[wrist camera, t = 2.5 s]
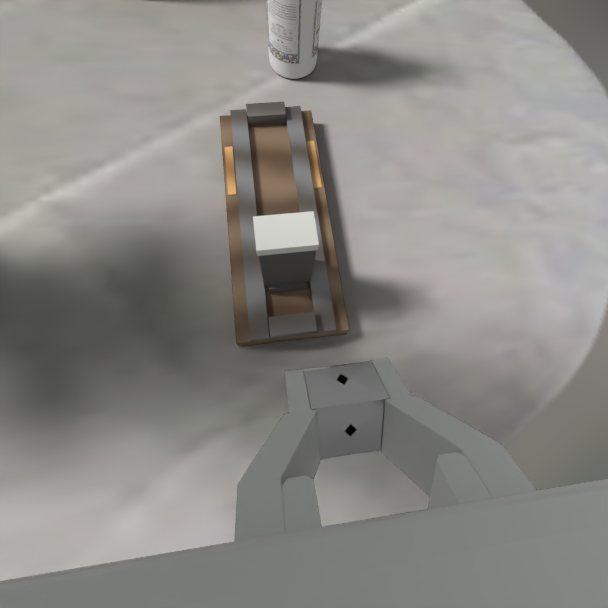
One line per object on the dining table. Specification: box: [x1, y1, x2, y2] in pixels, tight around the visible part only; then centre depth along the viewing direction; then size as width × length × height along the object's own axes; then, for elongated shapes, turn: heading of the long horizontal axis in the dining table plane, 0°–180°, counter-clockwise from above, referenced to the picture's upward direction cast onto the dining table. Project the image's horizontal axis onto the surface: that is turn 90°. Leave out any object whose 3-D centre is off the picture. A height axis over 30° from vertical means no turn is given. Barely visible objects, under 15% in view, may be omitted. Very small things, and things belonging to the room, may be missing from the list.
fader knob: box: [253, 211, 319, 293], centre depth 33 cm, size 4×5×10 cm
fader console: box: [220, 102, 349, 346], centre depth 40 cm, size 30×12×4 cm, turn 7°
